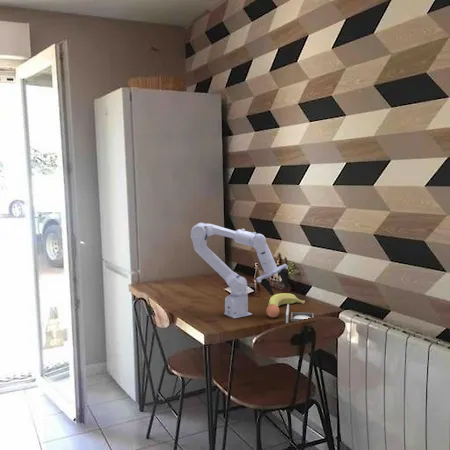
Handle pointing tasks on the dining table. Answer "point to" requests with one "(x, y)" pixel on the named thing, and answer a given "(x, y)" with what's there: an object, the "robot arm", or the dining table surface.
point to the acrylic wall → (287, 313)
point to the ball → (273, 310)
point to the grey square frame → (301, 316)
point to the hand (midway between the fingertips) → (279, 291)
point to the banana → (284, 299)
